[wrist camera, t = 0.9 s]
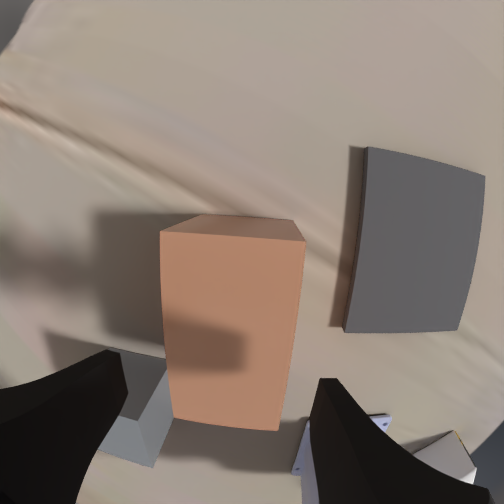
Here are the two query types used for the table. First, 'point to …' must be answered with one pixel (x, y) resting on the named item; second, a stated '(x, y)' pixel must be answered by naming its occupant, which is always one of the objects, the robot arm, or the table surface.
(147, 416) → the grey rectangular block
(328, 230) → the table surface
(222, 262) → the salmon rectangular prism
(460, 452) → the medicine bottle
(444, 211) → the charcoal mat
